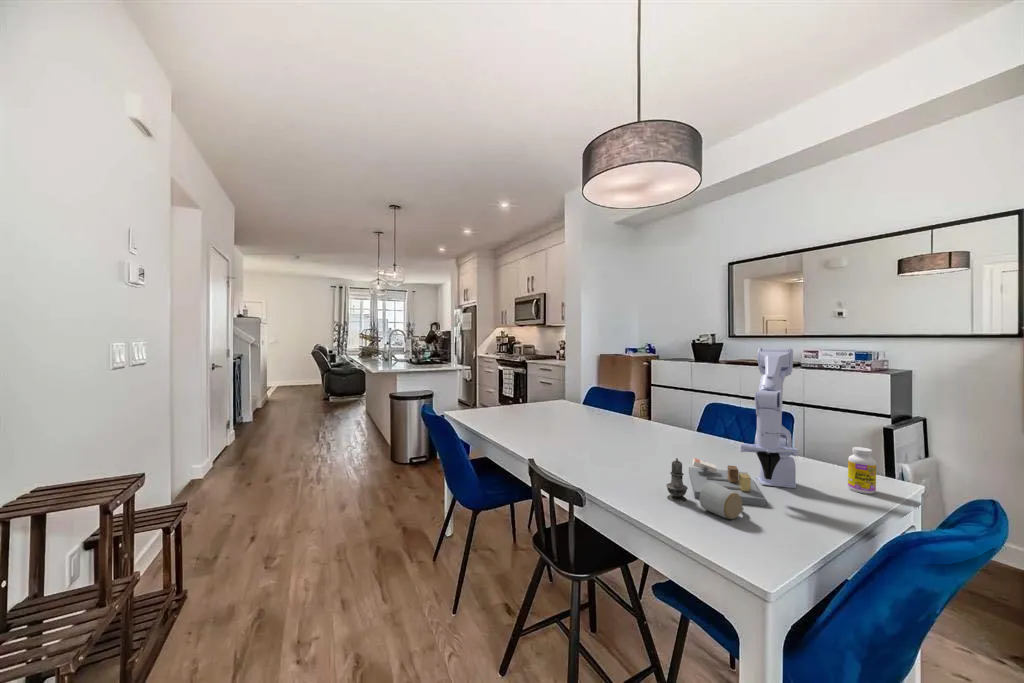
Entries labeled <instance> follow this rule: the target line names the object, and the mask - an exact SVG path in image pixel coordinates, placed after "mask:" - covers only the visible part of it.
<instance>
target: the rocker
mask: <svg viewBox="0 0 1024 683" xmlns="http://www.w3.org/2000/svg"><path fill="white" fill-rule="evenodd" d="M704 461H705V460H701V459H699V458H695V457H693V459H692V462H691V463H692V466H693V467H694V468H701V469H703V466H705V467H708V471H710V472H713V473H716V471H717V470H718V467H717V465H716V464H713V463H710V462H706V461H705V462H704Z"/></svg>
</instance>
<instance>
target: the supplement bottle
mask: <svg viewBox="0 0 1024 683" xmlns="http://www.w3.org/2000/svg"><path fill="white" fill-rule="evenodd" d="M872 456H873V449H871V448H867V447H862V446H854V447H852V454H851V455H849V456H848V459H847V462H848V463H847V488H848V489H849V490H851V491H853V492H856V493H859V494H860V493H861V494H866V495H867V494H868V495H872V494H876V492H877V491H876V489H877V488H876V487H877V461H876V459H874V458H873V457H872Z"/></svg>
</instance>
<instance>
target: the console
mask: <svg viewBox="0 0 1024 683" xmlns="http://www.w3.org/2000/svg"><path fill="white" fill-rule="evenodd" d="M703 461H704V462H706V461H705V460H703ZM739 473H745V474H748V475H749V476H750V474H749V473H748V471H747V472H746V471H738V483H734V482H729V480H728V469H727V470H725V469H724V470H723V469H717V471H716V473H713V472H710V471H708V467H705V466H703V469H701V468H698V467H695V466H693V467H691V466H688V475H689V476H688V477H689V479H690V483H691V484H690V485H691V487H692V492H693V495H694V496H693V497H694V499H699V500H700V492H701V490H702V488H703V486H704V485H705V484H706V483H708V482H714V483H717V484H719V485H721V486H723V487H725V488H727V489H730V490H732V491H734V492H735V493H737V494H738V495H739V496H740V497H741V499H742V505H752V506H761V507H766V498H765V497H764V496H763V494H762V493H761V491H760V489H759V487H758V486H757V485H756V483H755V482H754V480H753V478H751V476H750V478H751V492H748V491H741V489H740V488H739Z"/></svg>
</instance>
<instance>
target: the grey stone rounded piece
mask: <svg viewBox="0 0 1024 683" xmlns="http://www.w3.org/2000/svg"><path fill="white" fill-rule="evenodd" d="M669 474H671V477H670V478H671V479H670V482H669V483H666V486H665V487H666V489H667V491H668V493H669V495H668V496H666V498H667V499H668V500H669V501H671V502H675V503H686V502H687V497H685V495H686V493H687V490H688V489H689V487H688V486H687V485H685V484H684V482H683V476H684V475H685V474H684V473H683V463H682V462H681V461H680V460H679V459H678V457H676V458H675V460H673V461H672V462H671V471H670V473H669Z"/></svg>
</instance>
